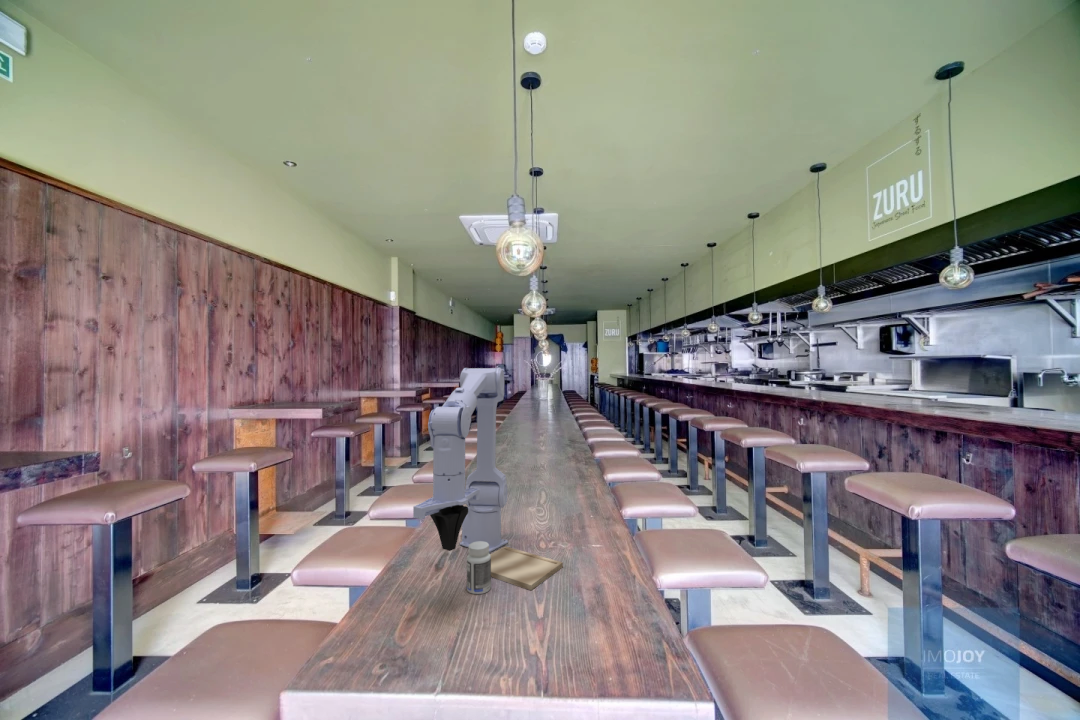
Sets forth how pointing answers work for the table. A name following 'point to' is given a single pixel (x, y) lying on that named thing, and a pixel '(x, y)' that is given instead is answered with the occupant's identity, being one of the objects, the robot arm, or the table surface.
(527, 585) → the beech board
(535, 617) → the table surface
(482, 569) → the pill bottle
